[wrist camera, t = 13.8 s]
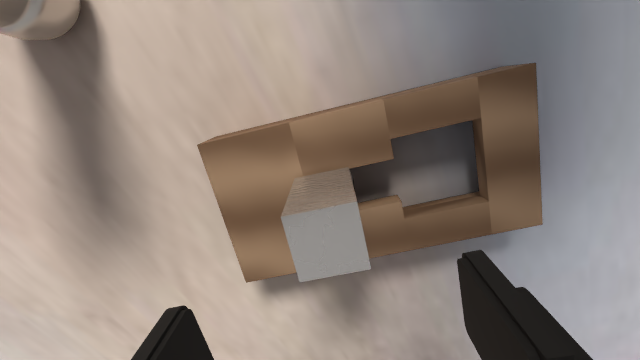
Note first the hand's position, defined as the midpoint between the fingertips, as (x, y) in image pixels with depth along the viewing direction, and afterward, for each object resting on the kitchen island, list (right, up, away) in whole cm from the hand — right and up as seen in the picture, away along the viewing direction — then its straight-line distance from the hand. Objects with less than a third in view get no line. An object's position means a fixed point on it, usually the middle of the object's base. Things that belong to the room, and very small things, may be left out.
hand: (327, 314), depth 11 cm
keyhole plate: (+4, +5, +16) cm, 18 cm away
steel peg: (0, +5, +17) cm, 17 cm away
